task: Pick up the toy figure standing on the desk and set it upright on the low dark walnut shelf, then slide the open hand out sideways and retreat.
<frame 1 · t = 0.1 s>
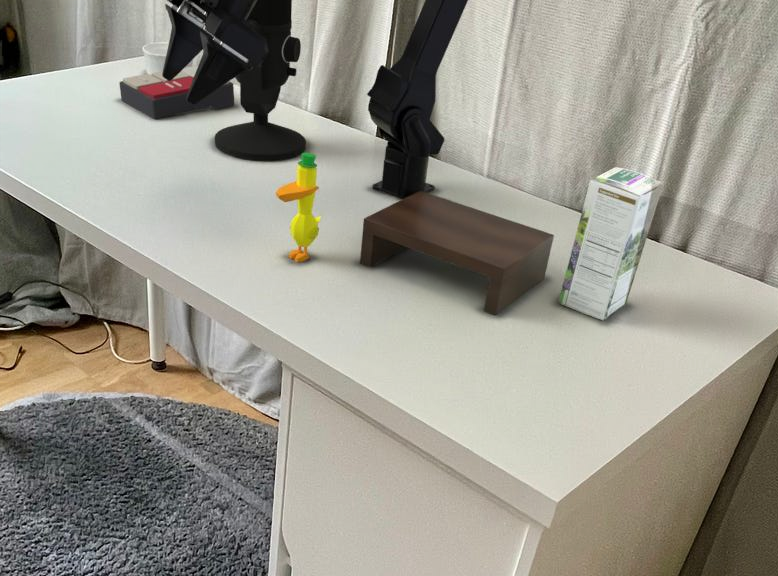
hand: (177, 90, 102), 15 cm above the table, tool tilted 35°, fingers open, 9 cm apart
grey and red case: (178, 104, 146), on the table
microphone: (260, 146, 133), on the table
toy figure: (297, 259, 103), on the table
syrup box: (592, 306, 99), on the table
shelf: (452, 271, 104), on the table
ramekin: (169, 75, 159), on the table
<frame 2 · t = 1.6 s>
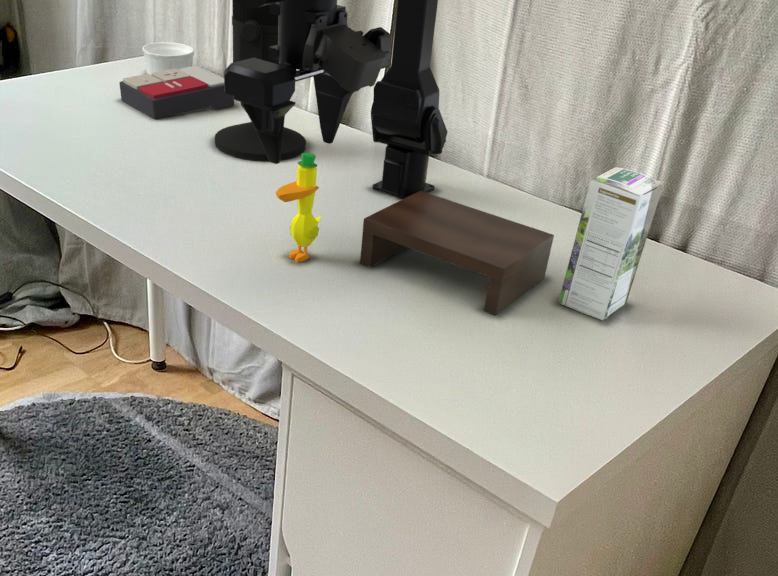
hand: (302, 152, 96), 12 cm above the table, tool pointing down, fingers open, 9 cm apart
nothing on the table moved.
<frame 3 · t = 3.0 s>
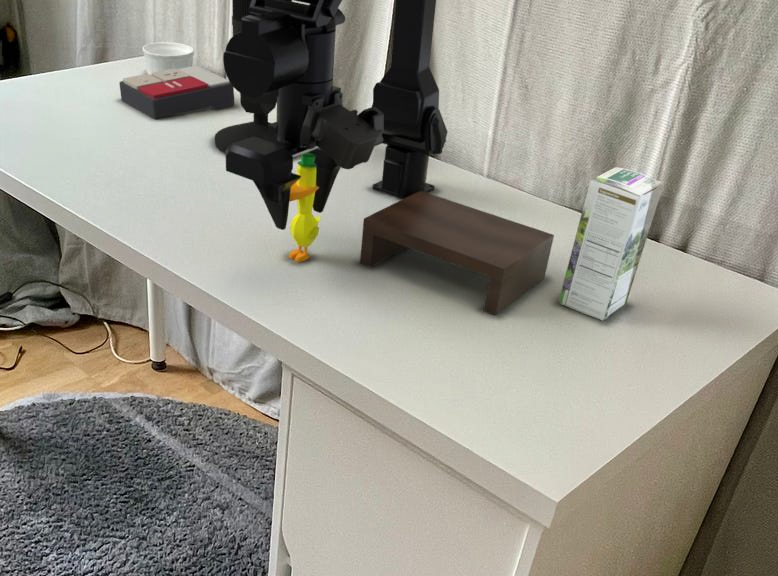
hand: (299, 220, 101), 5 cm above the table, tool pointing down, fingers closed on toy figure, 6 cm apart
toy figure: (298, 259, 103), on the table, touching gripper
everything else where it was.
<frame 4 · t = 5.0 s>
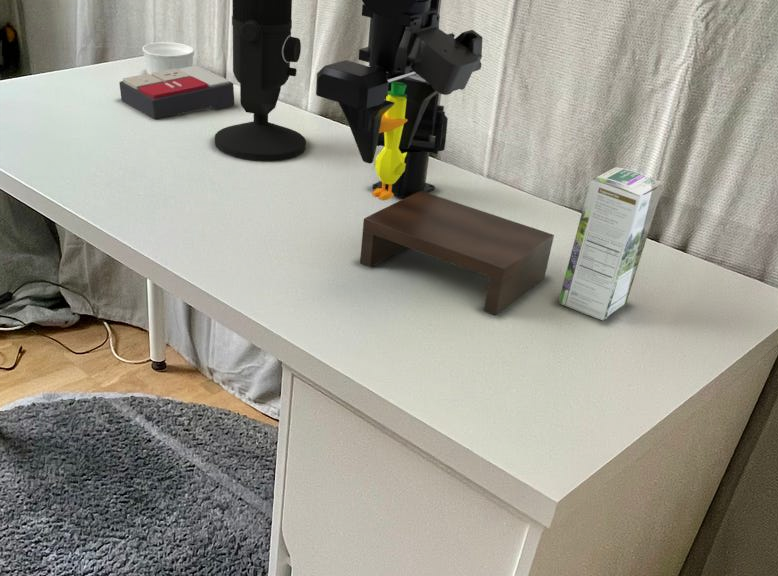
hand: (386, 155, 96), 13 cm above the table, tool pointing down, fingers closed on toy figure, 6 cm apart
toy figure: (381, 198, 99), point 8 cm above the table, touching gripper
everything else where it was.
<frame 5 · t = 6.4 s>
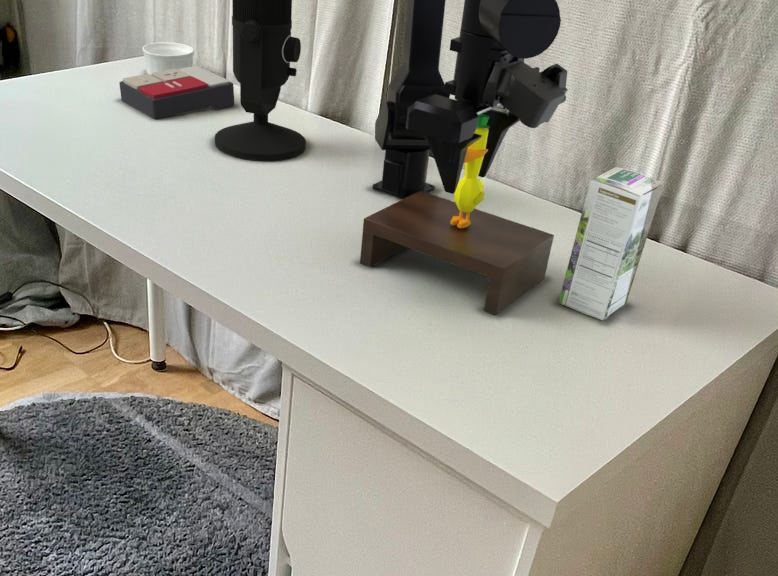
hand: (465, 184, 97), 10 cm above the table, tool pointing down, fingers closed on toy figure, 6 cm apart
toy figure: (459, 225, 100), point 6 cm above the table, touching gripper
everything else where it was.
when the fingers open (10 cm above the table, at t = 7.0 s): toy figure stays where it is, resting on shelf.
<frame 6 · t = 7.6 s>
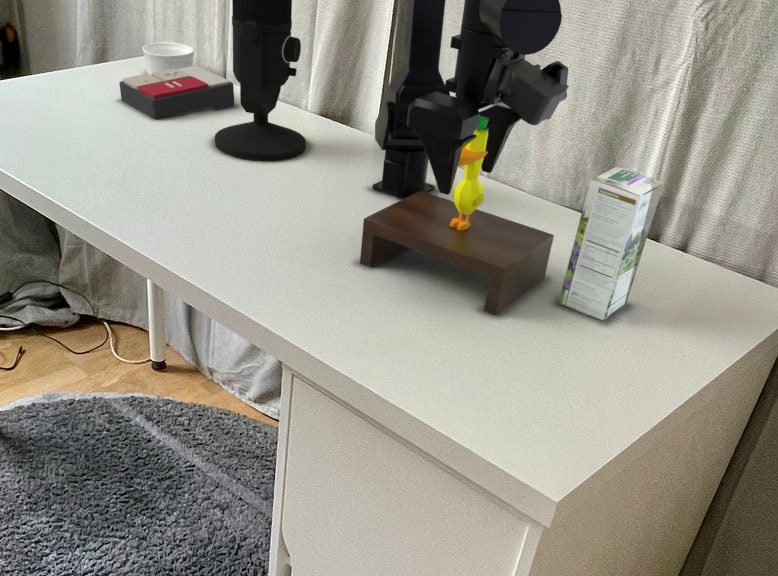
hand: (466, 182, 97), 11 cm above the table, tool pointing down, fingers open, 9 cm apart
toy figure: (458, 228, 100), point 5 cm above the table, touching shelf
everything else where it was.
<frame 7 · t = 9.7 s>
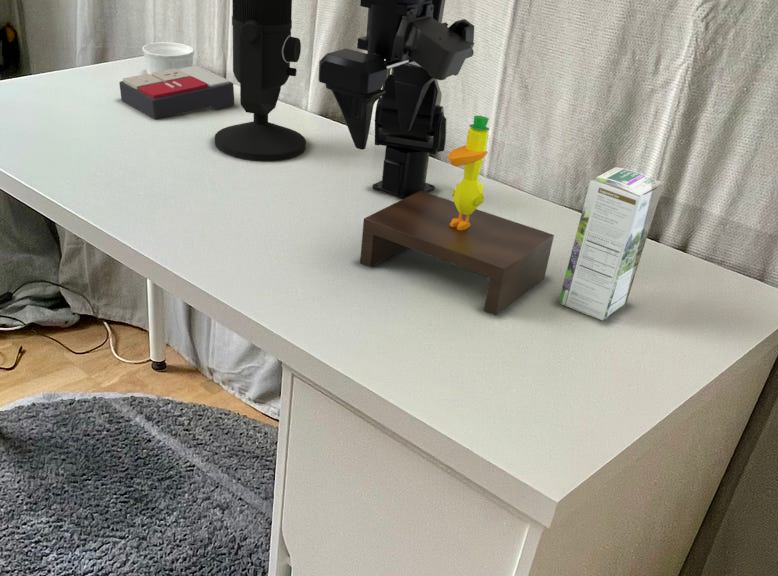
hand: (383, 139, 101), 12 cm above the table, tool pointing down, fingers open, 9 cm apart
nothing on the table moved.
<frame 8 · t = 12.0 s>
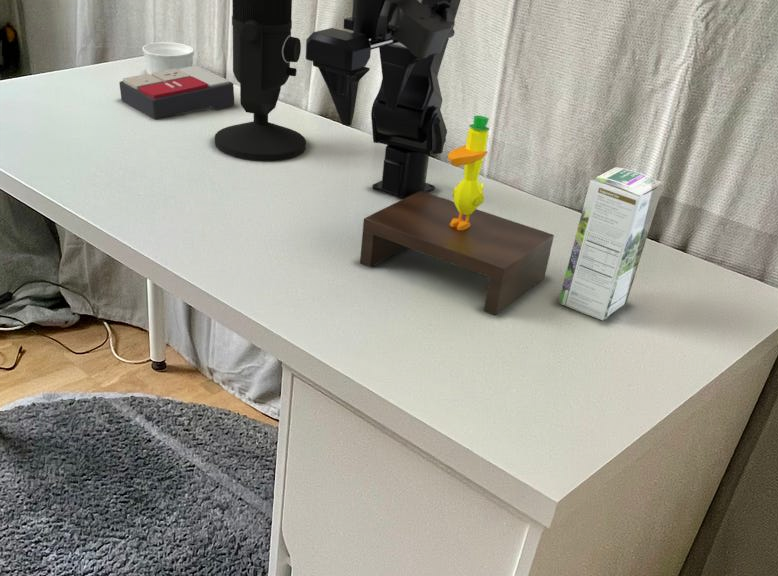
hand: (369, 117, 105), 13 cm above the table, tool pointing down, fingers open, 9 cm apart
nothing on the table moved.
at the end: toy figure inside the target area on the shelf (0.0 cm from its centre), point 5.3 cm above the shelf's base; toy figure tilted 0° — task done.
